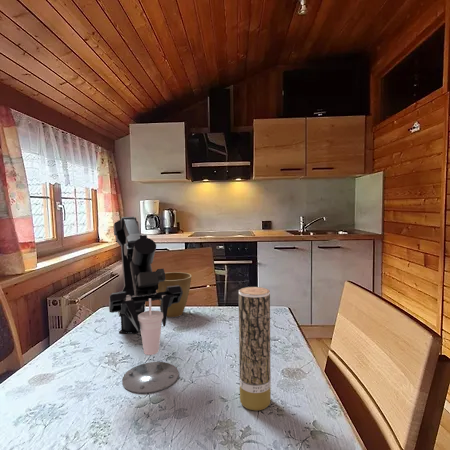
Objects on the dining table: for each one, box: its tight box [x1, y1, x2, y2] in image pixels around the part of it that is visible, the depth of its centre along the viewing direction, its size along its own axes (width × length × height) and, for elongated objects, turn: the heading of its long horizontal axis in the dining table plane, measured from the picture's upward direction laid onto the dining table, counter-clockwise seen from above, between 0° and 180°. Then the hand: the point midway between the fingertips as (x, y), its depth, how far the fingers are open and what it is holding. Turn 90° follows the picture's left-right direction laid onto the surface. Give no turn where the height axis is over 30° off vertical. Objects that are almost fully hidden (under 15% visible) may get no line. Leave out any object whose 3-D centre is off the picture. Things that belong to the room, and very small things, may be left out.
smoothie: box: [138, 298, 163, 356], centre depth 79 cm, size 6×6×14 cm
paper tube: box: [238, 286, 272, 411], centre depth 68 cm, size 7×7×25 cm
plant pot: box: [156, 271, 192, 318], centre depth 127 cm, size 15×15×16 cm
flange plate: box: [121, 361, 180, 394], centre depth 79 cm, size 14×14×1 cm
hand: (151, 328), depth 78 cm, fingers closed on smoothie, 6 cm apart
